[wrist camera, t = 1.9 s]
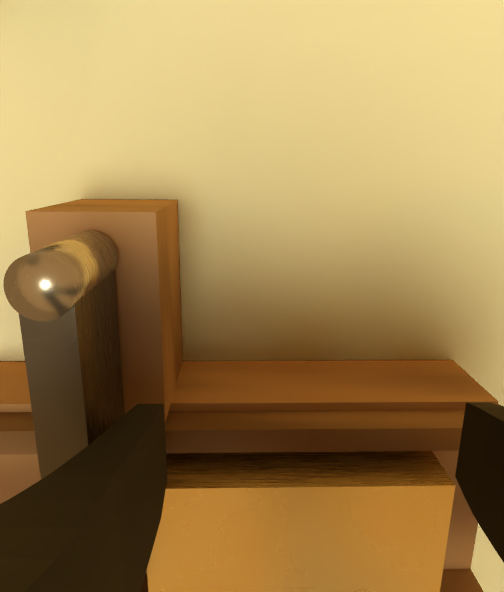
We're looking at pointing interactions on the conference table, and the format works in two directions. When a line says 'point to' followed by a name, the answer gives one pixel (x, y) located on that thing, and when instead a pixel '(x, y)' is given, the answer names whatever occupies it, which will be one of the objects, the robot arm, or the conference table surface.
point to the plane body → (243, 378)
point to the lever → (69, 342)
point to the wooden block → (302, 522)
